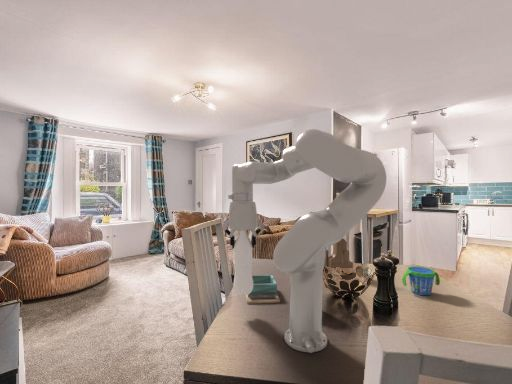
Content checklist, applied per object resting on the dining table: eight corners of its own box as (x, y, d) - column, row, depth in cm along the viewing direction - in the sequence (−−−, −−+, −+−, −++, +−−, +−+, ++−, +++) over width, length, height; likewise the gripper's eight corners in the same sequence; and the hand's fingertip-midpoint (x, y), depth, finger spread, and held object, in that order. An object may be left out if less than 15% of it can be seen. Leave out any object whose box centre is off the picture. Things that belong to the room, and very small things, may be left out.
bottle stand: (279, 302, 107) (279, 287, 107) (247, 303, 106) (247, 288, 106) (273, 287, 123) (273, 274, 123) (244, 288, 122) (244, 275, 122)
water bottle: (231, 291, 100) (230, 224, 100) (250, 288, 103) (248, 222, 103) (236, 298, 94) (234, 226, 94) (255, 295, 96) (254, 225, 96)
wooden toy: (345, 270, 150) (345, 225, 149) (353, 274, 143) (353, 227, 143) (320, 273, 145) (321, 226, 144) (328, 277, 138) (328, 228, 138)
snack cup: (408, 297, 113) (408, 273, 113) (396, 287, 124) (397, 265, 124) (447, 298, 112) (447, 274, 112) (432, 288, 123) (432, 266, 123)
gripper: (218, 198, 93) (218, 250, 93) (267, 198, 95) (268, 248, 95) (218, 198, 101) (219, 245, 101) (264, 197, 103) (265, 244, 103)
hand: (243, 246), depth 98 cm, fingers closed on water bottle, 6 cm apart
